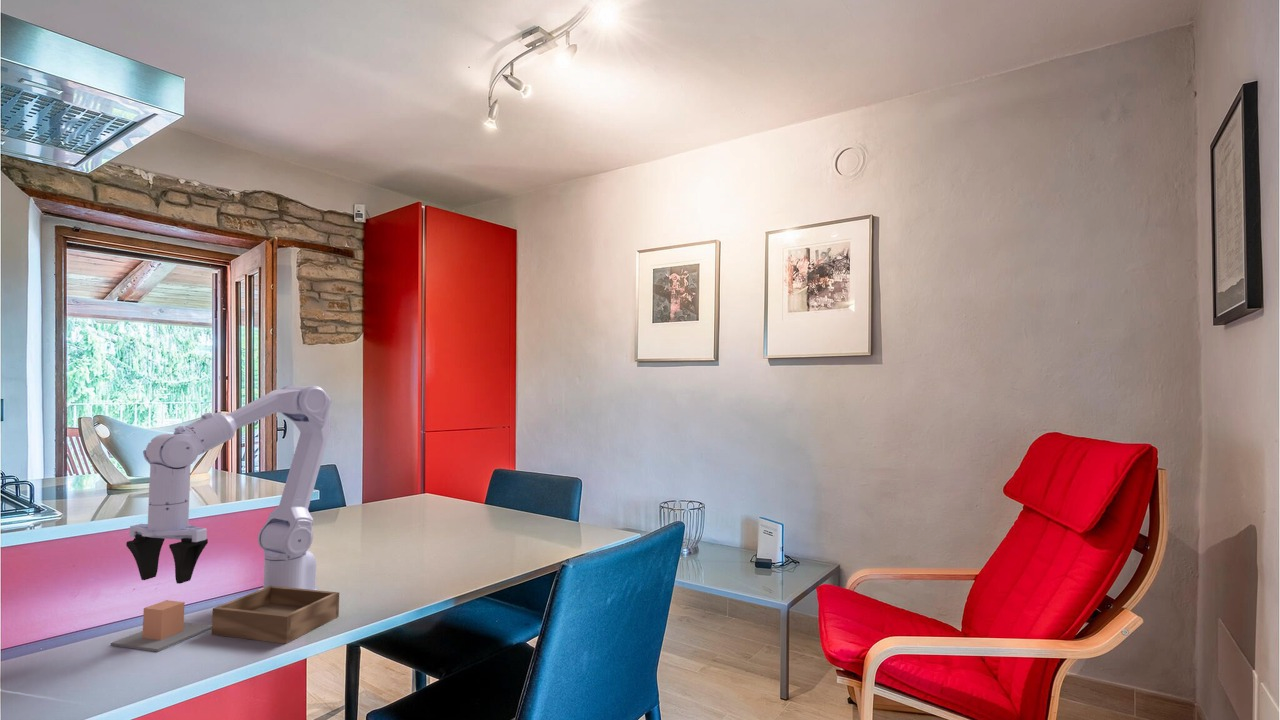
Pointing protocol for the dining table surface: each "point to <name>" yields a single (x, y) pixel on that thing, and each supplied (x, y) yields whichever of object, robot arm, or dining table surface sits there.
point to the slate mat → (158, 645)
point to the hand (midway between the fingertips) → (166, 580)
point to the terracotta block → (163, 619)
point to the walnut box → (275, 614)
